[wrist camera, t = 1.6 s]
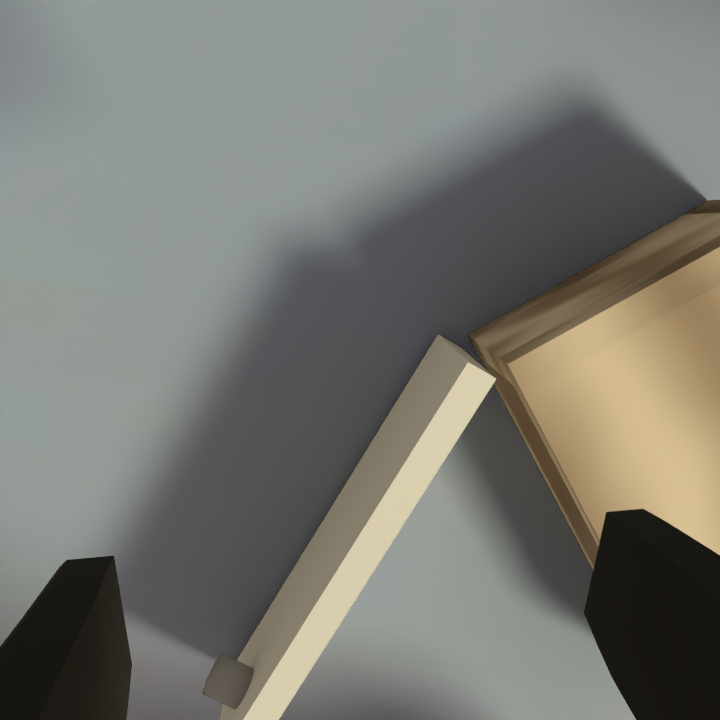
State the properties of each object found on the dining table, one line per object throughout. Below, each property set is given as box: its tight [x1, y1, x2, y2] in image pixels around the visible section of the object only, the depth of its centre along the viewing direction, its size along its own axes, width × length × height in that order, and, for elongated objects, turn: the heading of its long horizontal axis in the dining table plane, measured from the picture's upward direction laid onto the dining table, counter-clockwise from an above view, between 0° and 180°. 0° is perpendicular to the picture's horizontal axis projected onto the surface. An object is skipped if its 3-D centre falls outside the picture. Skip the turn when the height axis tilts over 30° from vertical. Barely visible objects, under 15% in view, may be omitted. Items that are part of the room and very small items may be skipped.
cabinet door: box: [203, 334, 496, 720], centre depth 23 cm, size 2×16×5 cm, turn 149°
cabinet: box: [468, 200, 720, 570], centre depth 24 cm, size 10×16×6 cm, turn 29°
